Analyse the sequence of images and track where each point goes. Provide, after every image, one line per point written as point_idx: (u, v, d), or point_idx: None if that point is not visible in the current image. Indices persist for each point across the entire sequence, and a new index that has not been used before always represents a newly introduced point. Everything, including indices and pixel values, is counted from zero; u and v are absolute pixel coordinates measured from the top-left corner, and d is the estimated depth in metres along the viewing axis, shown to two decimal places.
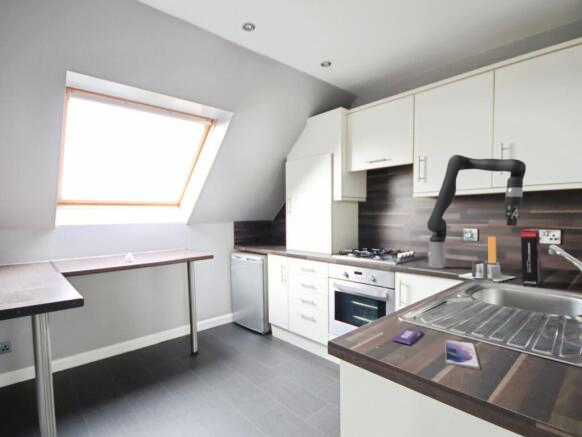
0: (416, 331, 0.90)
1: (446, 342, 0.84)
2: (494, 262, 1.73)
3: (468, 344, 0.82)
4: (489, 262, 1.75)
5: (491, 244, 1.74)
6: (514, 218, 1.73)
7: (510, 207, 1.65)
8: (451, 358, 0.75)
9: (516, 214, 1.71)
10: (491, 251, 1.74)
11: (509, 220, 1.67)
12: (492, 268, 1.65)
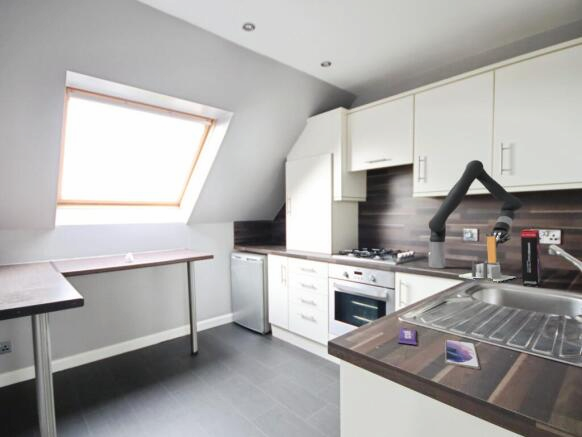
0: (412, 330, 0.91)
1: (446, 342, 0.84)
2: (494, 262, 1.73)
3: (468, 344, 0.82)
4: (489, 262, 1.75)
5: (490, 245, 1.74)
6: None
7: (509, 238, 1.73)
8: (451, 358, 0.75)
9: None
10: (490, 251, 1.74)
11: (497, 244, 1.74)
12: (492, 268, 1.65)
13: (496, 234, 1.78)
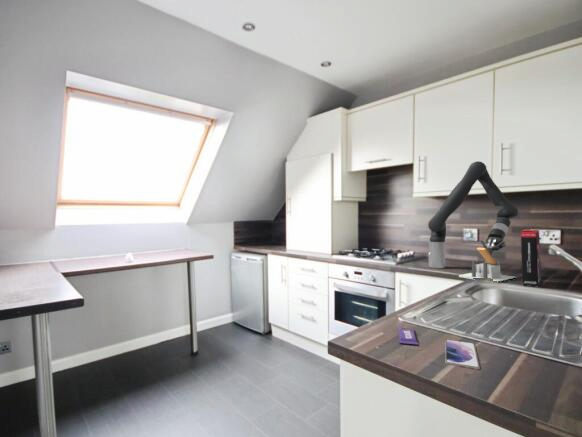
0: (411, 329, 0.91)
1: (446, 342, 0.84)
2: (494, 263, 1.73)
3: (468, 344, 0.82)
4: (489, 263, 1.75)
5: (484, 254, 1.70)
6: None
7: (504, 245, 1.70)
8: (451, 358, 0.75)
9: None
10: (486, 257, 1.72)
11: (491, 251, 1.71)
12: (492, 268, 1.65)
13: (491, 241, 1.75)
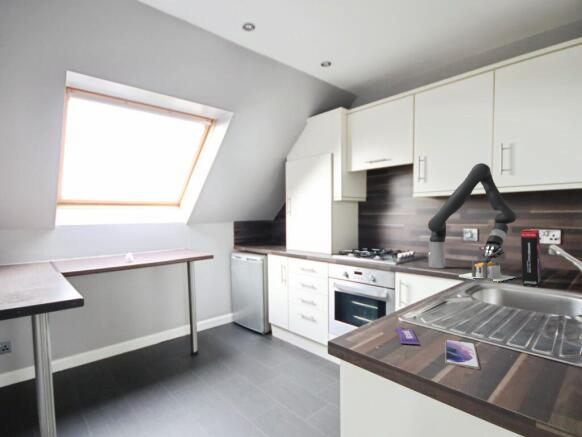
0: (410, 329, 0.91)
1: (446, 342, 0.84)
2: (494, 264, 1.73)
3: (468, 344, 0.82)
4: None
5: None
6: None
7: (502, 252, 1.68)
8: (451, 358, 0.75)
9: None
10: None
11: (490, 259, 1.70)
12: (492, 268, 1.65)
13: (489, 248, 1.74)
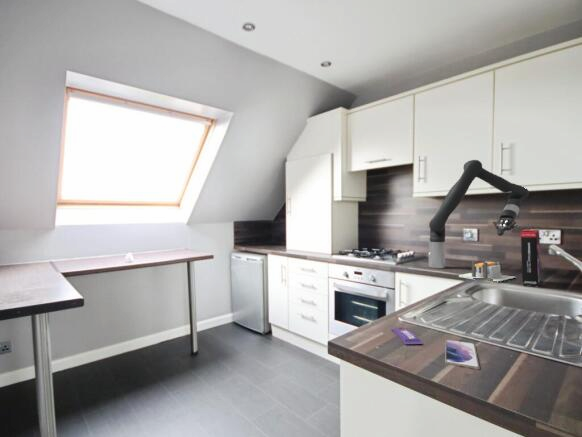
0: (407, 329, 0.91)
1: (446, 342, 0.84)
2: (494, 264, 1.73)
3: (468, 344, 0.82)
4: None
5: None
6: None
7: (516, 225, 1.76)
8: (451, 358, 0.75)
9: None
10: None
11: (503, 231, 1.78)
12: (492, 268, 1.65)
13: (503, 221, 1.82)
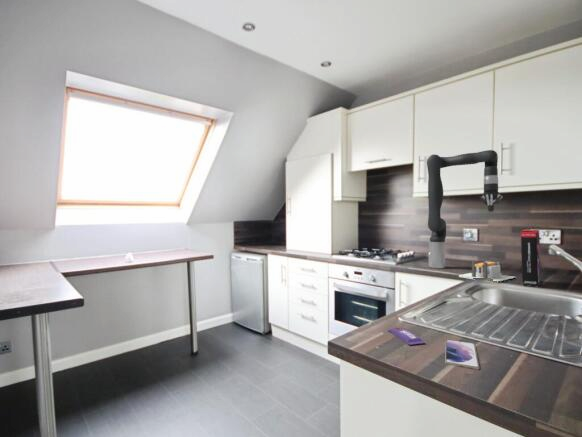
0: (404, 329, 0.92)
1: (446, 342, 0.84)
2: (494, 264, 1.73)
3: (469, 344, 0.82)
4: None
5: None
6: (490, 204, 1.89)
7: (502, 197, 1.85)
8: (451, 358, 0.75)
9: None
10: None
11: (493, 207, 1.88)
12: (492, 268, 1.65)
13: None
